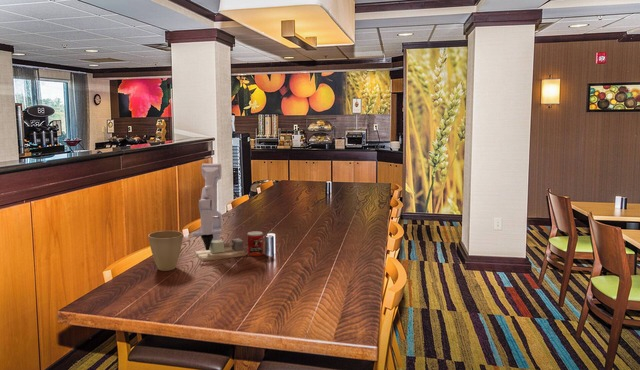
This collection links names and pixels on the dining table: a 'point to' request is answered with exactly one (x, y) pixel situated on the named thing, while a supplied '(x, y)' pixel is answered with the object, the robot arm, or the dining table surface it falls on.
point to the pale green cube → (216, 246)
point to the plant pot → (166, 248)
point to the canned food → (255, 243)
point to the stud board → (229, 251)
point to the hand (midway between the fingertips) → (207, 249)
